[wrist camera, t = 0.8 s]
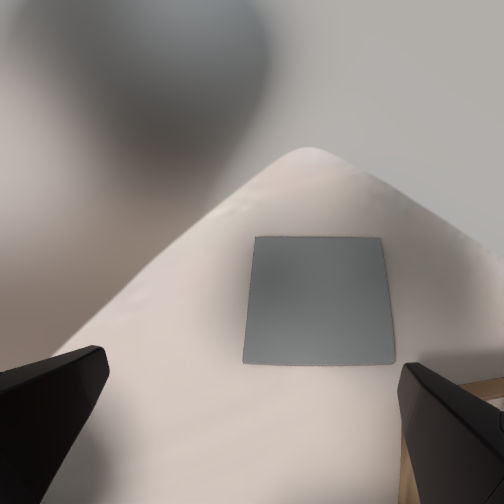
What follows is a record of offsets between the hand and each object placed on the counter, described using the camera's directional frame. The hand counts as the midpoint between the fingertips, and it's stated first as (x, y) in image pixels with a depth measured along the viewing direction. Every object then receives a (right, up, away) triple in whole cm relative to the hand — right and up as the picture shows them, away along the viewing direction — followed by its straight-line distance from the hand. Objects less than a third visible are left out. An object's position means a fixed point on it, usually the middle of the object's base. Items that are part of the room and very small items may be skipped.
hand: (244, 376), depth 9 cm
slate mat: (+5, 0, +14) cm, 15 cm away
